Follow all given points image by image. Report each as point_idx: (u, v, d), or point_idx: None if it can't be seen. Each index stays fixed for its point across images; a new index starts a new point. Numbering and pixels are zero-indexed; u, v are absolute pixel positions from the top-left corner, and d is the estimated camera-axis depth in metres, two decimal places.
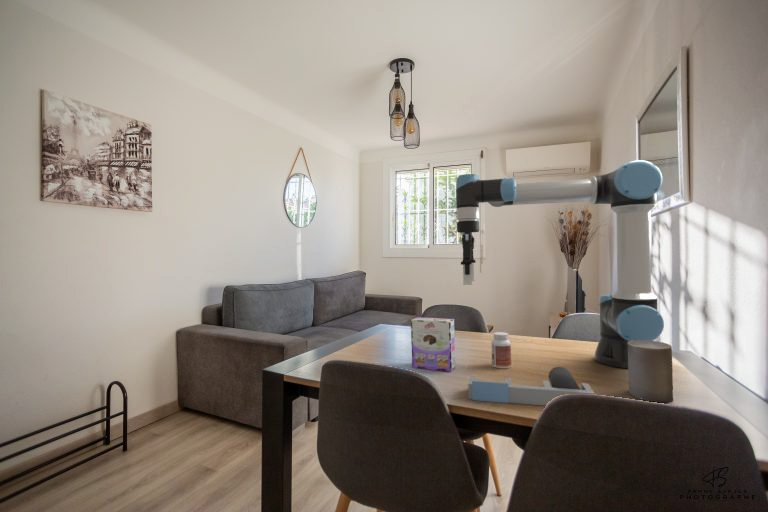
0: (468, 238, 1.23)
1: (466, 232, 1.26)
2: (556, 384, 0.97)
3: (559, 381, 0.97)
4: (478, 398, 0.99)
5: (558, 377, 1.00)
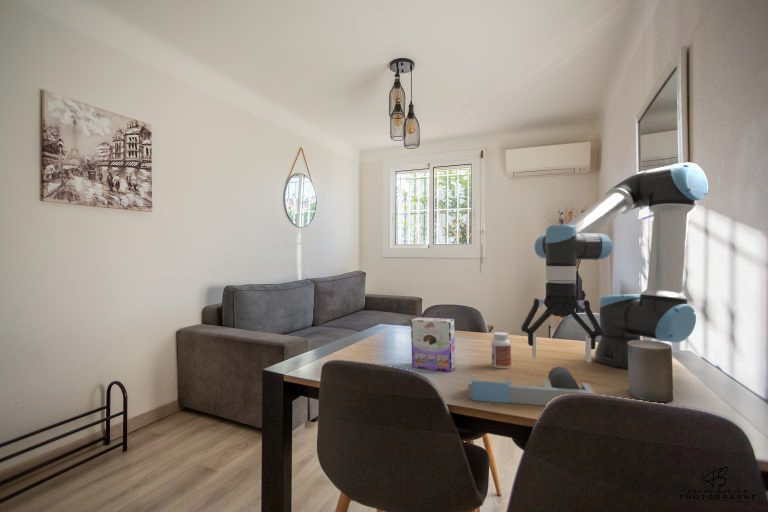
0: None
1: None
2: (556, 384, 0.97)
3: (559, 381, 0.97)
4: (478, 398, 0.99)
5: (558, 377, 1.00)
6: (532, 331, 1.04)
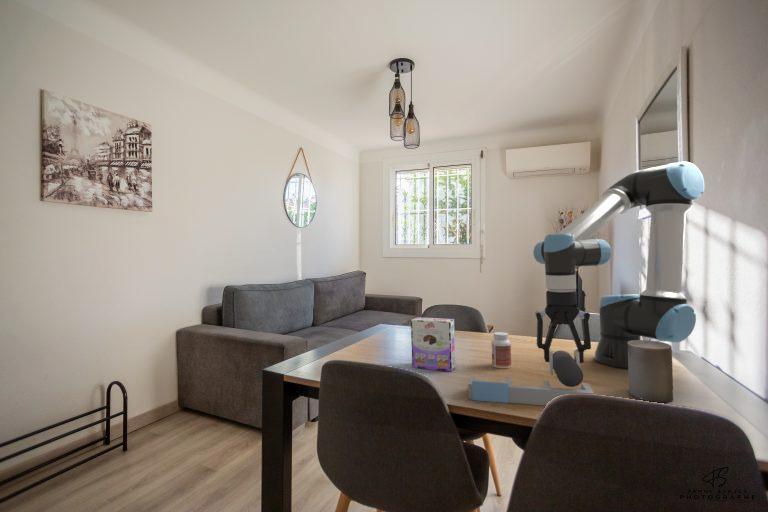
0: None
1: None
2: (558, 367, 0.97)
3: (561, 364, 0.97)
4: (478, 398, 0.99)
5: (560, 360, 1.00)
6: (548, 347, 1.04)
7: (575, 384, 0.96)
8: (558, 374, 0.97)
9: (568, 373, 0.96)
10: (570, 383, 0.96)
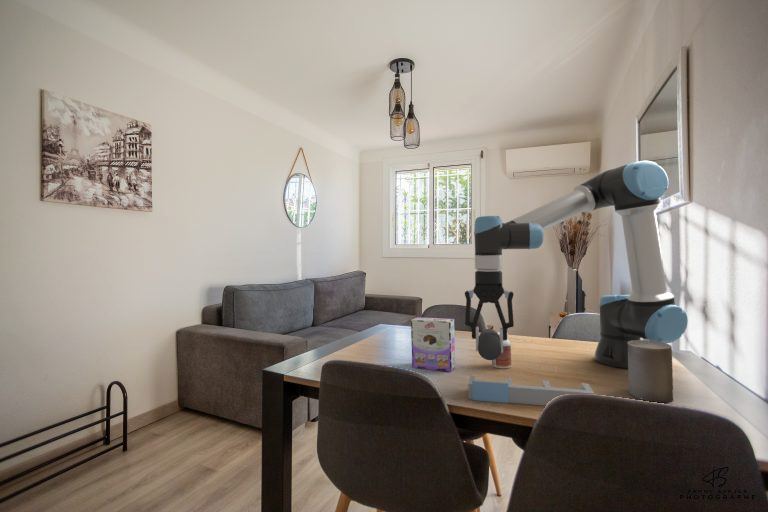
0: None
1: None
2: (479, 341, 1.02)
3: (482, 338, 1.02)
4: (478, 398, 0.99)
5: (483, 336, 1.05)
6: (474, 324, 1.09)
7: (493, 357, 1.00)
8: (478, 348, 1.01)
9: (487, 347, 1.01)
10: (488, 356, 1.01)
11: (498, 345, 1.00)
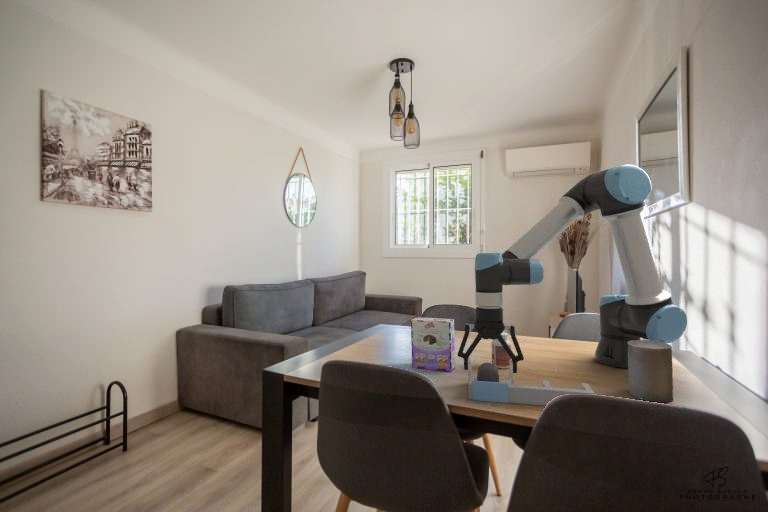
0: None
1: None
2: None
3: (479, 377, 1.02)
4: (478, 398, 0.99)
5: (479, 373, 1.05)
6: (467, 356, 1.10)
7: None
8: None
9: None
10: None
11: None
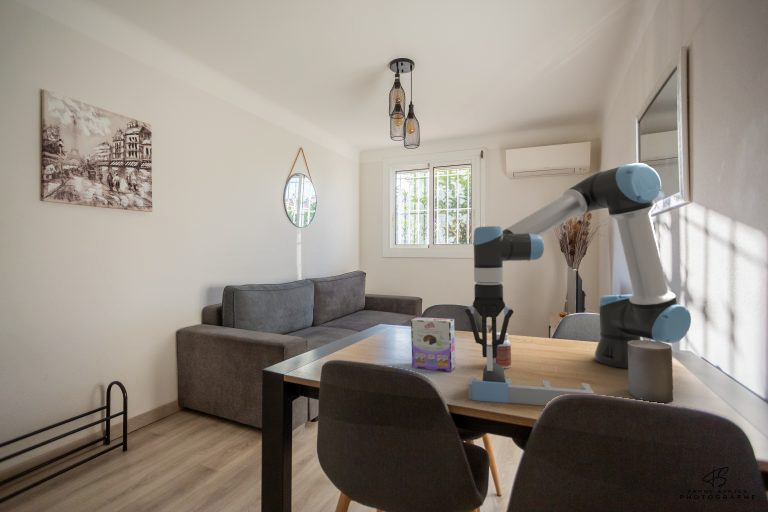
0: None
1: None
2: (486, 376, 1.02)
3: (490, 375, 1.02)
4: (478, 398, 0.99)
5: (491, 371, 1.04)
6: (485, 342, 1.03)
7: None
8: None
9: None
10: None
11: None
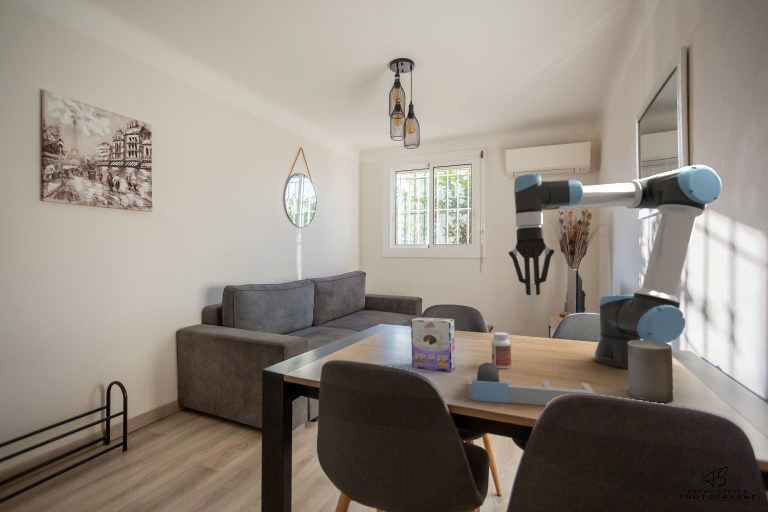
0: None
1: None
2: (477, 380, 1.02)
3: (479, 377, 1.02)
4: (478, 398, 0.99)
5: (480, 373, 1.05)
6: (528, 280, 1.13)
7: None
8: None
9: None
10: None
11: None
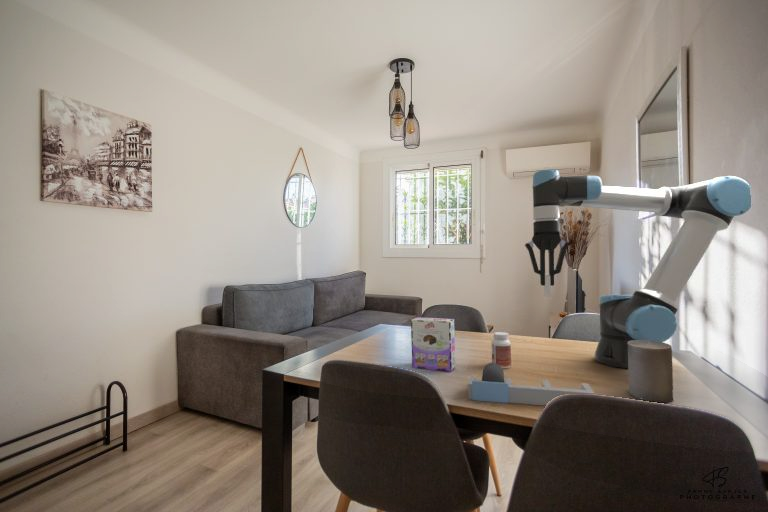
0: None
1: None
2: (485, 377, 1.02)
3: (489, 375, 1.02)
4: (478, 398, 0.99)
5: (489, 371, 1.04)
6: (543, 271, 1.17)
7: None
8: None
9: None
10: None
11: None
